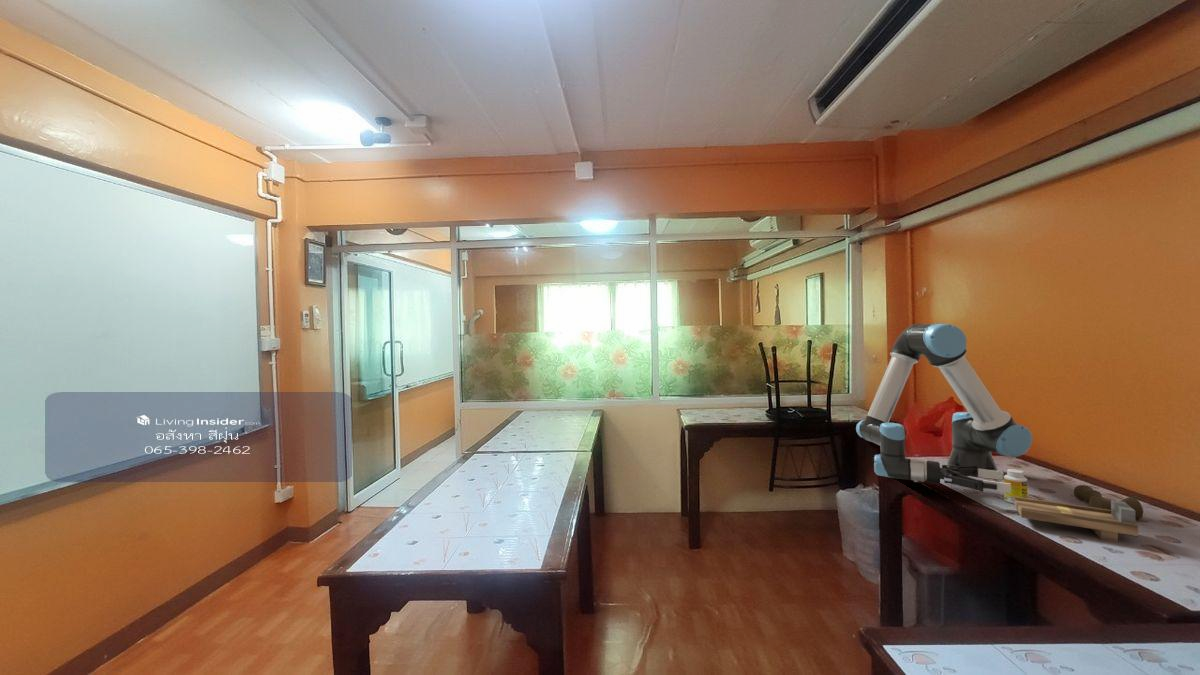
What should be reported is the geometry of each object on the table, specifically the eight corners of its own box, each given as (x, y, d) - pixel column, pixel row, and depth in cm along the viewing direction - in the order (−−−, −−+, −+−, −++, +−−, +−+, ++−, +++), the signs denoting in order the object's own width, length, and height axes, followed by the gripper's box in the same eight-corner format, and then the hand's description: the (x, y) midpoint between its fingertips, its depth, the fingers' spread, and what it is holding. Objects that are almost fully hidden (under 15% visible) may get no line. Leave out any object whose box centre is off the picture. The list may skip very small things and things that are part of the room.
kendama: (1102, 502, 144) (1156, 527, 125) (1064, 500, 147) (1111, 524, 128) (1100, 483, 144) (1154, 505, 125) (1062, 482, 147) (1109, 503, 128)
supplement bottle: (1024, 506, 141) (1024, 474, 141) (1001, 501, 145) (1001, 470, 145) (1030, 502, 144) (1029, 471, 144) (1007, 497, 148) (1007, 466, 148)
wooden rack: (1014, 513, 136) (1014, 485, 136) (1122, 530, 123) (1122, 500, 123) (1021, 526, 128) (1021, 496, 127) (1138, 545, 115) (1137, 512, 115)
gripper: (925, 472, 168) (1000, 481, 156) (927, 493, 147) (1014, 506, 135) (924, 452, 168) (1000, 460, 155) (926, 470, 147) (1014, 481, 135)
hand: (1007, 481), depth 145 cm, fingers open, 13 cm apart
